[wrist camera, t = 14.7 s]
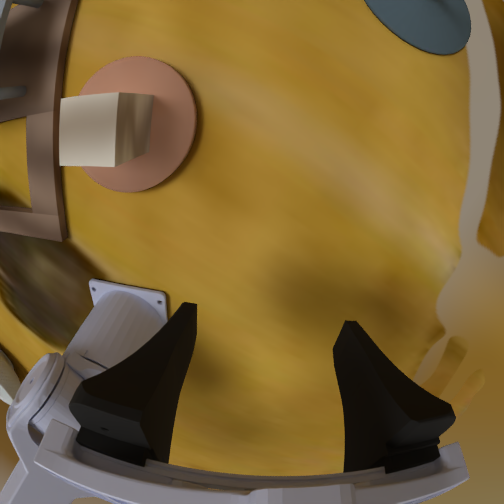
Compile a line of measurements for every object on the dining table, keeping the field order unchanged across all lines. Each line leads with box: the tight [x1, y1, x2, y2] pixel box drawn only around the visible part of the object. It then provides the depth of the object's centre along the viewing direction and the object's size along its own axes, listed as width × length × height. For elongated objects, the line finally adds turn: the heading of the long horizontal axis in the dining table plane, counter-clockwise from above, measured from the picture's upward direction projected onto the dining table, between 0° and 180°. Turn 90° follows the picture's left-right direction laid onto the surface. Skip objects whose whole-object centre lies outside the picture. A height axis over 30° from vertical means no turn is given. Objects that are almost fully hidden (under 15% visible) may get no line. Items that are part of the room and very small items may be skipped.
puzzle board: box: [0, 0, 78, 242], centre depth 15 cm, size 24×16×1 cm, turn 172°
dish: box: [78, 56, 197, 192], centre depth 17 cm, size 10×10×1 cm
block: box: [59, 92, 154, 167], centre depth 14 cm, size 4×4×5 cm
